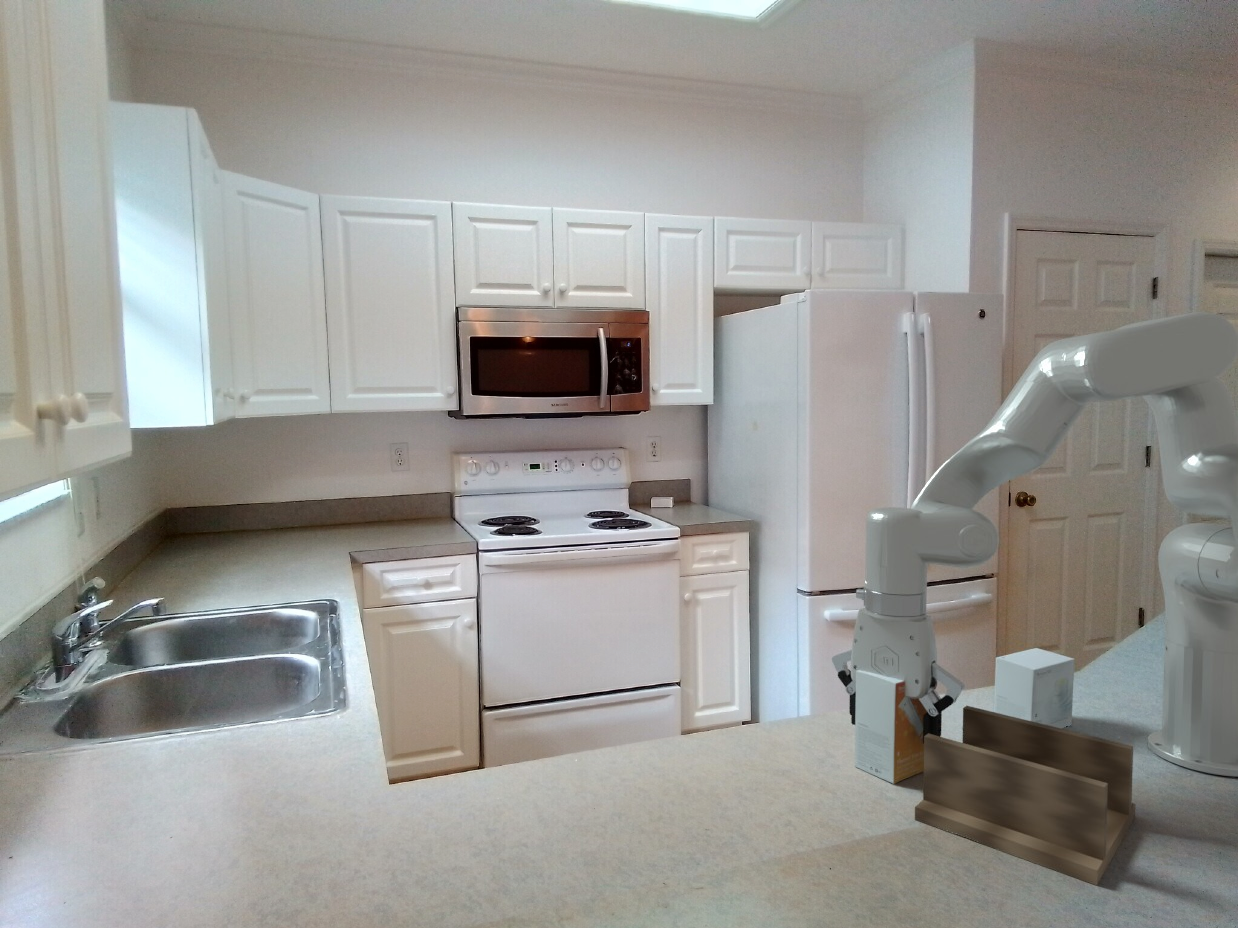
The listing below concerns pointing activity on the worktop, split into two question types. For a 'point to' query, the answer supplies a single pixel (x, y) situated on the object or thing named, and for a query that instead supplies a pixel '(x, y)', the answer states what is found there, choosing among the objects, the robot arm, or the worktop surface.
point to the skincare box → (1035, 687)
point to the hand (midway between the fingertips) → (893, 731)
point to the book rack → (1031, 791)
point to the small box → (887, 728)
